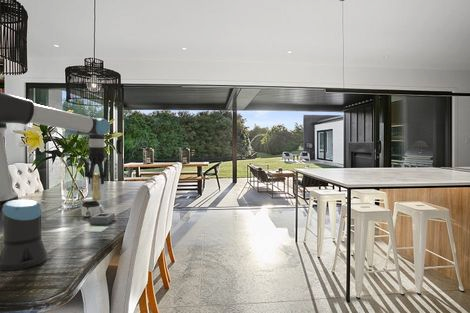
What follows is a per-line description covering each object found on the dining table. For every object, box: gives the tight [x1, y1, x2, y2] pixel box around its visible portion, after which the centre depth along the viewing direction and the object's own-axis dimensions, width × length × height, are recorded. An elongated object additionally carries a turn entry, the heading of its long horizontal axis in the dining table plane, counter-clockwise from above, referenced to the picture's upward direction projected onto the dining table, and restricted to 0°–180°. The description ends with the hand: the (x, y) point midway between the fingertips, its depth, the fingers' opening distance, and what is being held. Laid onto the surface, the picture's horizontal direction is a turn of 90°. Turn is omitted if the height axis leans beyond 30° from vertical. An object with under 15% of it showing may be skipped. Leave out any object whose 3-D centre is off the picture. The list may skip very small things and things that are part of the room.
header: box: [89, 212, 116, 225], centre depth 165 cm, size 10×10×4 cm
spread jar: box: [81, 196, 106, 219], centre depth 179 cm, size 12×11×12 cm
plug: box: [91, 173, 102, 201], centre depth 152 cm, size 4×4×14 cm
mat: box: [83, 225, 109, 233], centre depth 151 cm, size 9×9×1 cm
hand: (96, 190), depth 152 cm, fingers closed on plug, 4 cm apart
